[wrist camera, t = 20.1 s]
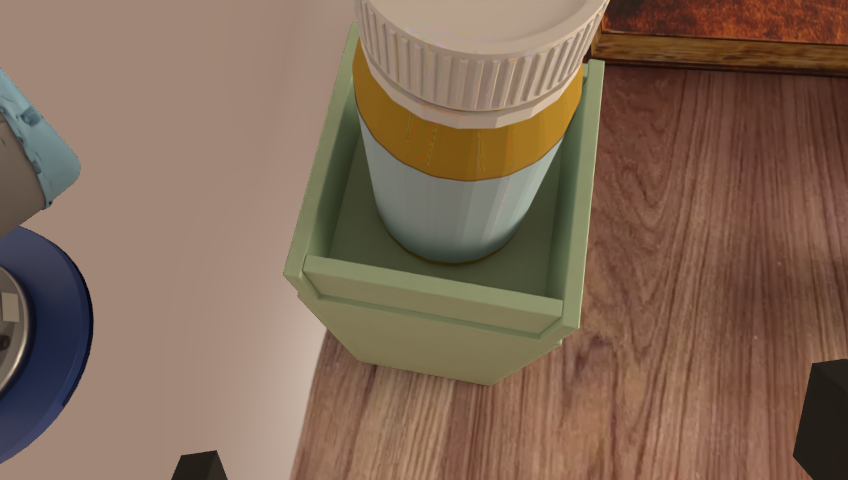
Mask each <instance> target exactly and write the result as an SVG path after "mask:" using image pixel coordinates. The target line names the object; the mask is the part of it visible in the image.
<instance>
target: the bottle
mask: <svg viewBox="0 0 848 480" xmlns="http://www.w3.org/2000/svg"><path fill="white" fill-rule="evenodd" d="M609 1H610V0H354V4H355V11H356V17H357V23H358V27H359V34H360V36H359V38H358V41H357V45H356V50H355V54H354V59H353V63H352V74H353V84H354V91H355V98H356V105H357V110H358V115H359V120H360V125H361V130H362V135H363V140H364V145H365V150H366V155H367V160H368V166H369V171H370V176H371V181H372V186H373V191H374V196H375V201H376V206H377V210H378V213H379V216H380V219H381V221H382V223H383V224H384V226H385V228H386V230H387V232H388V234H389V235H390V236H391V238H392V239H393V240H394V241H395V242H396V243H397V244H398V245H399V246H400V247H401V248H403V249H404V250H405V251H406V252H408V253H409V254H411V255H413V256H415V257H417V258H419V259H421V260H423V261H425V262H428V263H432V264H438V265H445V266H460V265H467V264H473V263H476V262H480V261H482V260H484V259H486V258H488V257H490V256H492V255H493V254H495V253H497V252H498V251H500V250H501V249H502V248H503V247H504V246H505V245H506V244H507V243H508V242H509V241H510V240H511V239H512V238H513V236H514V235H515V233H516V232H517V230H518V229H519V227H520V225H521V223H522V221H523V219H524V217H525V215H526V212H527V210H528V208H529V206H530V204H531V202H532V200H533V198H534V196H535V194H536V192H537V190H538V188H539V186H540V184H541V182H542V180H543V178H544V176H545V174H546V172H547V170H548V168H549V166H550V164H551V162H552V160H553V157H554V155H555V153H556V151H557V149H558V147H559V145H560V143H561V141H562V139H563V137H564V135H565V133H566V131H567V129H568V127H569V125H570V122H571V120H572V118H573V116H574V114H575V112H576V108H577V106H578V104H579V101H580V98H581V94H582V81H583V64H582V61H583V57H584V55H585V54H586V52H587V50H588V48H589V46H590V44H591V42H592V39H593V37H594V35H595V33H596V30H597V28H598V26H599V24H600V21H601V19H602V17H603V14H604V12H605V10H606V8H607V5H608V3H609Z"/></svg>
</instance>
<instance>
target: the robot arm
mask: <svg viewBox="0 0 848 480" xmlns="http://www.w3.org/2000/svg"><path fill="white" fill-rule="evenodd" d="M79 174H80V162H79V159H78V157H77V156H76V154H75V153H74V152H73V151H72V150H71V148H70V147H69V146H68V145H67V144H66V143H65V141H63V139H62V138H61V137H60V136H59V135H58V134H57V132H56V131H55V130H54V129H53V128H52V127H51V126H50V125H49V123H48V122H47V121H46V120H45V119H44V118H43V117H42V115H41V114H40V113H39V112H38V111H37V110H36V108H35V107H34V106H33V105H32V104H31V103H30V101H29V100H28V99H27V98H26V97H25V96H24V94H23V93H22V92H21V91H20V90H19V89H18V87H17V86H16V85H15V84H14V83H13V82H12V81H11V80H10V78H9V77H8V76H7V75H6V74H5V73H4V71H3V70H2V69H1V68H0V238H2V237H3V236H5V235H6V234H8V233H9V232H10V231H12V230H13V229H15V228H16V227H17V226H19V225H20V224H22V223H23V222H25V221H26V220H27V219H29V218H30V217H32V216H33V215H34V214H36V213H37V212H38V211H40V210H44V209H46V208H48V207H49V206H50V205H51V204H52V202H53V200H54V199H55V198H56V197H57V196H58V195H60V194H61V193H62V192H63V191H65V190H66V189H67V188H68V187H69V186H71V185H72V184H73V183H74V182H75V181H76V180H77V178H78V176H79ZM36 331H37V318H36V310H35V305H34V302H33V299H32V297H31V294H30V292H29V291H28V289H27V287H26V286H25V284H24V283H23V282H22V280H21V279H20V278H19V277H18V276H17V275H16V274H14V273H13V272H12V271H10V270H9V269H7V268H5V267H4V266H2V265H0V401H1V400H2V399H3V398H4V397H5V396H6V395H7V393H8V392H9V391H10V390H11V389H12V388H13V386H14V385H15V384H16V382H17V381H18V379H19V378H20V376H21V375H22V373H23V371H24V369H25V367H26V366H27V363H28V361H29V359H30V356H31V354H32V350H33V347H34V343H35V338H36ZM793 457H794V458H795V459H796V460H797V462H798V463H799V464H800V465H801V466H802V467H803V468H804V470H805V471H806V472H807V473H808V474H809V475H810V477H811V478H812V479H813V480H848V359H840V360H833V361H826V362H819V363H812V367H811V372H810V377H809V381H808V386H807V391H806V396H805V400H804V405H803V410H802V415H801V419H800V424H799V429H798V433H797V438H796V443H795V448H794V452H793ZM171 480H227V477H226V474H225V471H224V469H223V466H222V463H221V461H220V458H219V456H218V453H217V450H216V451H209V452H202V453H195V454H189V455H181V457H180V460H179V462H178V465H177V467H176V470H175V472H174V474H173V477H172V479H171Z"/></svg>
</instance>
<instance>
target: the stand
mask: <svg viewBox="0 0 848 480" xmlns="http://www.w3.org/2000/svg"><path fill="white" fill-rule="evenodd" d="M359 36H360V34H359V27H358V23H357V22H352V23H351V27H350V30H349V34H348V38H347V41H346V45H345V49H344V52H343V56H342V60H341V63H340V67H339V71H338V74H337V78H336V82H335V85H334V89H333V93H332V96H331V100H330V104H329V107H328V111H327V115H326V119H325V122H324V126H323V129H322V133H321V137H320V140H319V144H318V148H317V151H316V155H315V159H314V163H313V167H312V170H311V173H310V177H309V181H308V184H307V188H306V192H305V195H304V199H303V203H302V207H301V210H300V214H299V217H298V221H297V225H296V228H295V232H294V236H293V239H292V243H291V247H290V250H289V254H288V258H287V261H286V265H285V269H284V272H283V275H284V276H285V277H286V279H287V280H288V281H289V282H290V283H291V284H292V285H293V286H294V287H295V288H296V290H297V291H298V295H297V296H298V298H299V299H300V300H301V301H302V302H303V303H304V304H305V305H306V306H307V307H308V308H309V309H310V310H311V312H312V313H313V314H314V315H315V316H316V317H317V318H318V319H319V320H320V321H321V322H322V323H323V324H324V325H325V326H326V327H327V329H328V330H329V331H330V332H331V333H332V334H333V335H334V336H335V337H336V338H337V339H338V340H339V341H340V342H341V343H342V345H343V346H344V347H345V348H346V349H347V350H348V351H349V352H350V353H351V354H352V355H353V356H354V357H355V358H356V359H357V360H358V361H359V362H365V363H370V364H375V365H381V366H386V367H391V368H396V369H402V370H407V371H412V372H418V373H423V374H428V375H433V376H439V377H444V378H449V379H455V380H460V381H465V382H471V383H476V384H481V385H486V386H492V385H494V384H495V383H497V382H499V381H500V380H502V379H504V378H505V377H507V376H509V375H511V374H512V373H514V372H516V371H517V370H519V369H521V368H523V367H524V366H526V365H528V364H529V363H531V362H533V361H535V360H536V359H538V358H540V357H541V356H543V355H545V354H546V353H548V352H550V351H552V350H553V349H555V348H557V347H558V346H560V345H561V344H562V339H563V338H565V337H566V336H568V335H569V334H571V333H573V332H574V331H576V330H577V329H579V325H580V315H581V304H582V294H583V284H584V273H585V263H586V252H587V242H588V232H589V221H590V211H591V200H592V190H593V180H594V169H595V159H596V148H597V138H598V128H599V117H600V107H601V96H602V86H603V75H604V65H605V62H604V61H600V60H594V59H590V60H589V61H588V63H587V64H584V63H582V64H583V81H582V94H581V98H580V101H579V104H578V106H577V108H576V112H575V114H574V116H573V118H572V120H571V122H570V125H569V127H568V129H567V131H566V133H565V135H564V137H563V139H562V141H561V143H560V145H559V147H558V149H557V151H556V153H555V155H554V157H553V160H552V162H551V164H550V166H549V168H548V170H547V172H546V174H545V176H544V178H543V180H542V182H541V184H540V186H539V188H538V190H537V192H536V194H535V196H534V198H533V200H532V202H531V204H530V206H529V208H528V210H527V212H526V215H525V217H524V219H523V221H522V223H521V225H520V227H519V229H518V230H517V232H516V233H515V235H514V236H513V238H512V239H511V240H510V241H509V242H508V243H507V244H506V245H505V246H504V247H503V248H502V249H501V250H500V251H498V252H497V253H495V254H493V255H492V256H490V257H488V258H486V259H484V260H482V261H480V262H476V263H473V264H467V265H460V266H445V265H438V264H432V263H428V262H425V261H423V260H421V259H419V258H417V257H415V256H413V255H411V254H409V253H408V252H406V251H405V250H404V249H403V248H401V247H400V246H399V245H398V244H397V243H396V242H395V241H394V240H393V239H392V238H391V236H390V235H389V234H388V232H387V230H386V228H385V226H384V224H383V223H382V221H381V219H380V216H379V213H378V210H377V206H376V201H375V196H374V191H373V186H372V181H371V176H370V171H369V166H368V160H367V155H366V150H365V145H364V140H363V135H362V130H361V125H360V120H359V115H358V110H357V105H356V98H355V91H354V84H353V74H352V63H353V59H354V54H355V50H356V45H357V41H358V38H359Z"/></svg>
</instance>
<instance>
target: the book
mask: <svg viewBox="0 0 848 480" xmlns="http://www.w3.org/2000/svg"><path fill="white" fill-rule="evenodd" d="M587 57H588V61H589V60H590V59H594V60H600V61H604V62H605V65H618V66H637V67H655V68H674V69H693V70H712V71H731V72H749V73H768V74H787V75H806V76H824V77H843V78H848V0H610V1H609V3H608V5H607V8H606V10H605V12H604V14H603V17H602V19H601V21H600V24H599V26H598V28H597V30H596V33H595V35H594V37H593V39H592V42H591V44H590V46H589V48H588V50H587Z"/></svg>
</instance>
